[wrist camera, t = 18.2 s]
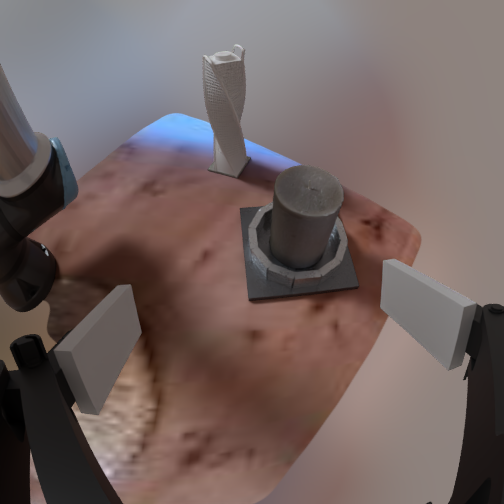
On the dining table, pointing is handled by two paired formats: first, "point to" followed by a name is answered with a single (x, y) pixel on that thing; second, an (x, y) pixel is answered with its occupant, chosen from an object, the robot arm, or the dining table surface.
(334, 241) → the duct collar
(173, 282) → the dining table surface
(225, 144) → the skyscraper
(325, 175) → the pillar candle
